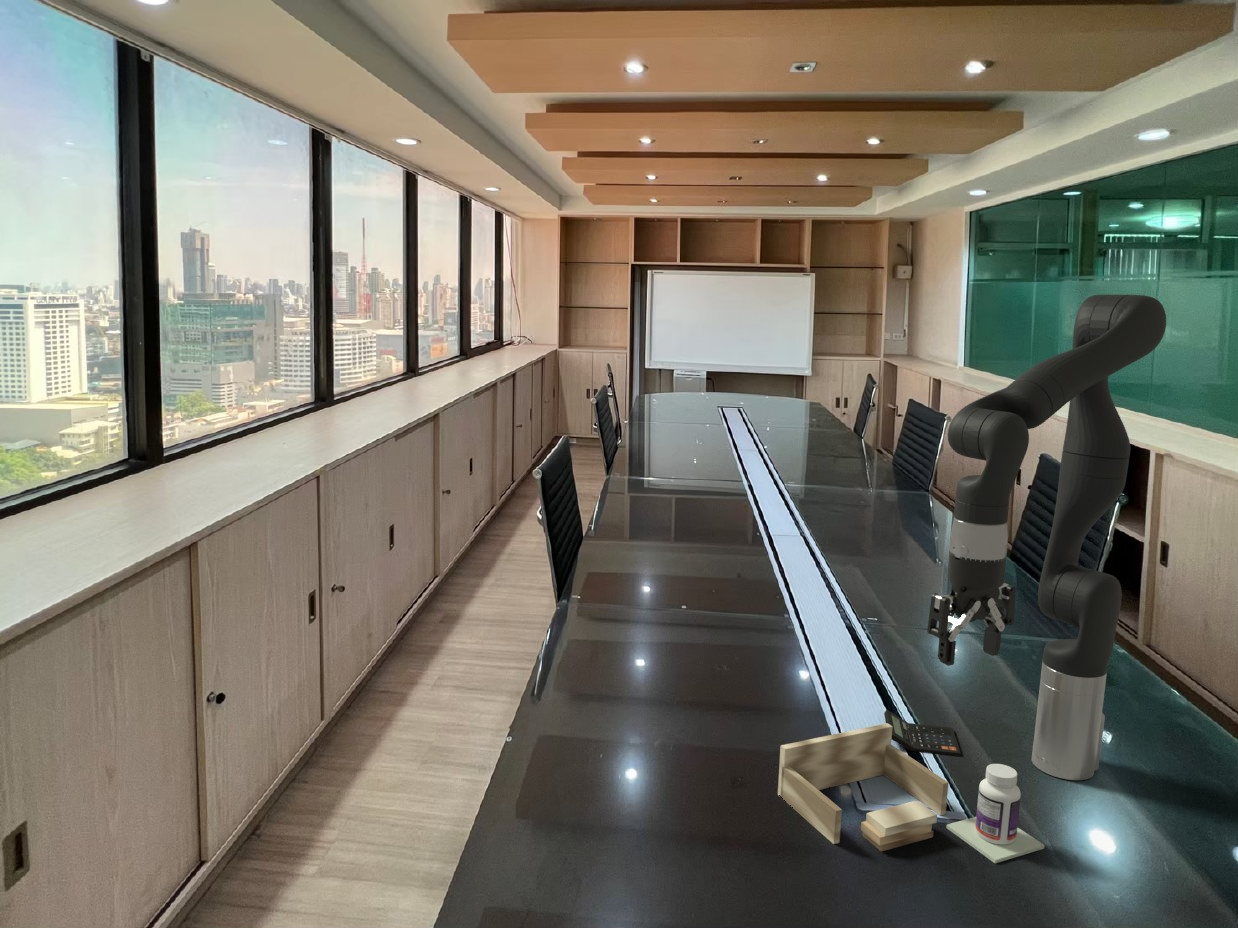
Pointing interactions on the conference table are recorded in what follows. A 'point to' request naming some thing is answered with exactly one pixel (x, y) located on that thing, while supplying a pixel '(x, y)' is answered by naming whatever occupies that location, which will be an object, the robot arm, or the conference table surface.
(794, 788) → the enclosure
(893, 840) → the offcut stack
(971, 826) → the sage mat
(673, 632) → the conference table surface
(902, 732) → the calculator
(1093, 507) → the robot arm
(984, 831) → the pill bottle
